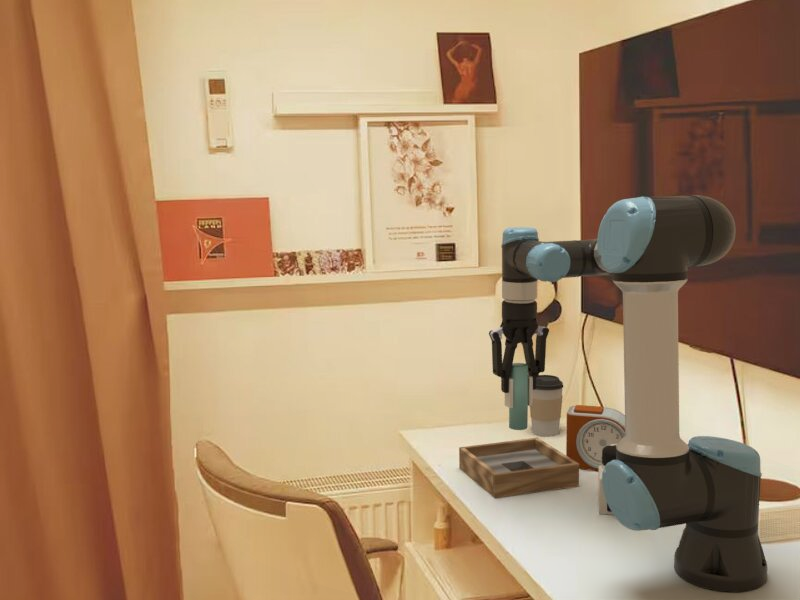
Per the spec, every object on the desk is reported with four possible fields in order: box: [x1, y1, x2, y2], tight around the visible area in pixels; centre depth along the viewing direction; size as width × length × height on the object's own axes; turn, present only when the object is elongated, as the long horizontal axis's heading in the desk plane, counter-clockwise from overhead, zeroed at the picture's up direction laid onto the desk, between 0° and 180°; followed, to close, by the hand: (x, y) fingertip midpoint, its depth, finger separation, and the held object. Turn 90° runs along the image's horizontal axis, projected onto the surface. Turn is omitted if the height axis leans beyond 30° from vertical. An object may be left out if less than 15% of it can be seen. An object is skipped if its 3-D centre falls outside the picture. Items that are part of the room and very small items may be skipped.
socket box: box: [458, 437, 580, 499], centre depth 204 cm, size 20×20×5 cm
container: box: [597, 444, 617, 516], centre depth 184 cm, size 8×8×13 cm
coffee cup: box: [529, 374, 564, 438], centre depth 235 cm, size 9×9×15 cm
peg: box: [508, 362, 529, 431], centre depth 198 cm, size 4×4×14 cm
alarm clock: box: [565, 404, 625, 472], centre depth 210 cm, size 15×8×14 cm, turn 71°
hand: (518, 405), depth 198 cm, fingers closed on peg, 4 cm apart
